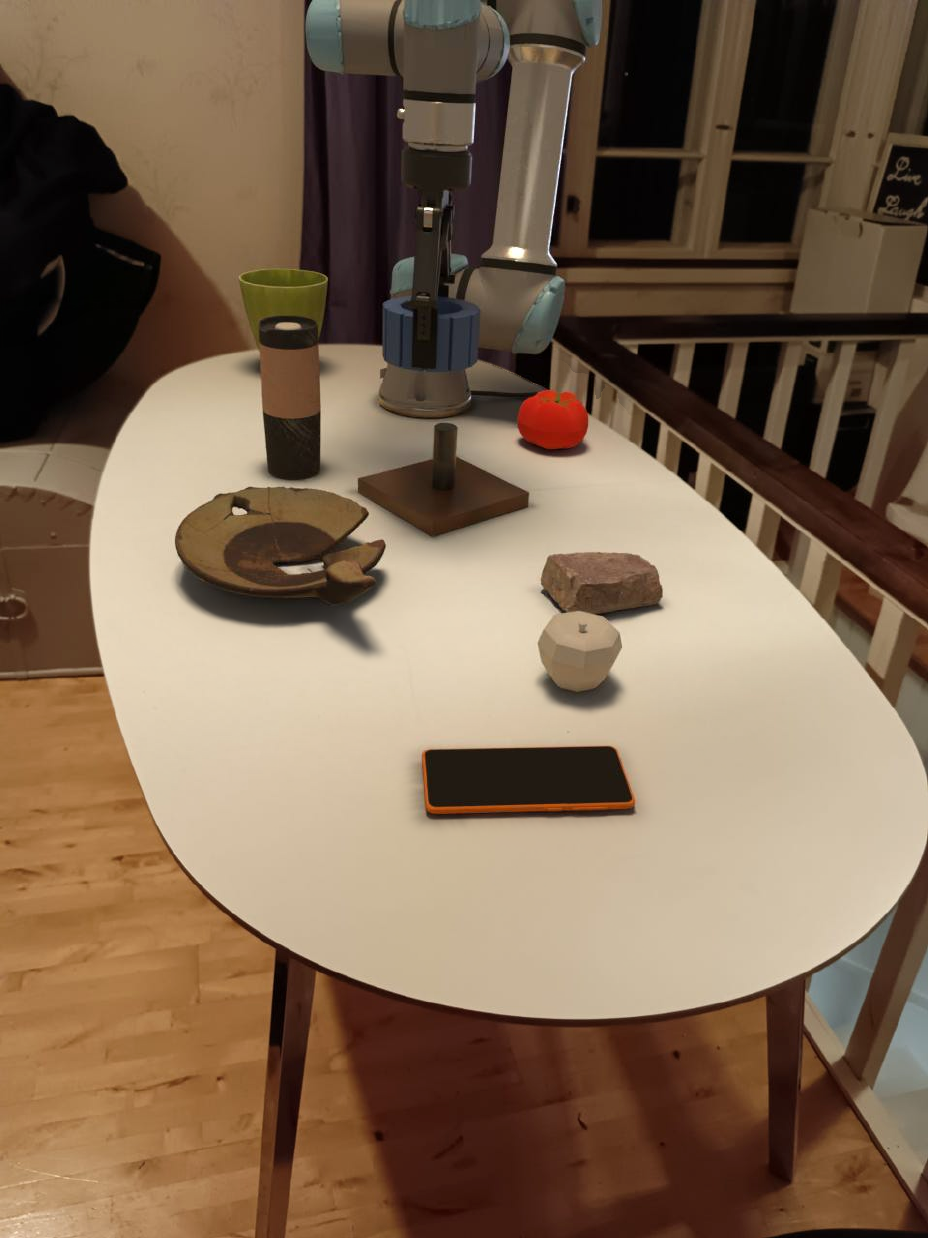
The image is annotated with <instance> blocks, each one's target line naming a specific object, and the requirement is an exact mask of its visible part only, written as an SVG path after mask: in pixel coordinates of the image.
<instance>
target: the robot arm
mask: <svg viewBox="0 0 928 1238" xmlns="http://www.w3.org/2000/svg"><path fill="white" fill-rule="evenodd" d="M602 22H603V0H311V2H310V4H309V6H308V9H307V12H306V17H305V38H306V40H305V41H306V49H307V52H308V54H309V58H310V60H311V61H312V63H313V64H314V66H315V67H316V68H318V69H319V70H321V71H324V72H332V73H333V72H334V73H339V74H340V75H345V74H353V75H356V74H357V75H370V76H371V75H372V76H388V77H389V76H390V77H398V78H403V85H402V87H403V91H402V98H403V101H402V105H403V107H404V108H398V109H397V112H396V116H397V118H398V119H400V120H404V121H403V123H402V140H403V141H404V142H405V143H407V145H408V146H404V147H403V149H402V150H401V175H400V176H401V177H400V179H401V183H402V184H403V185H404V186H405V187H408V188H411V189H420V190H421V191H422V194H421V195H422V196H421V202H419V203H418V205H416V206H415V211H414V220H415V233H414V255H413V256H411V257H407V258H403V259H401V260H399V261H398V262H396V264H395V265H394V266H393V269H392V274H391V287H390V290H389V294H390V299H392V298H393V299H395V298H397V297H405V296H412V297H411V299H410V300H407V301H406V307H407V308H413V329H412V367H417V368H430V369H436V359H437V333H438V308H436V307H437V306H438V302H437V297H438V296H441V297H448V298H456V299H458V300H464V301H467V302H470V303H473V304H475V305H477V306H478V307H479V309H480V310H481V311H480V327H479V343H478V349H487V350H495V351H502V352H508V353H512V354H514V355H515V354H528V355H538V354H541V353H543V352H544V351H545V350H546V349H547V348H548V347H549V345H550V343H551V341H552V339H553V337H554V334H555V332H556V329H557V327H558V324H559V321H560V316H561V313H562V309H563V306H564V305H563V304H564V300H565V290H566V282H565V279H564V278H562V277H560V276H559V275H558V276H557V268H558V264H557V262H556V260H555V259H554V258H553V256H552V255H551V254H550V244H551V237H552V230H553V229H552V228H553V222H554V216H555V215H554V214H555V209H556V208H555V207H556V200H557V193H558V185H559V177H560V171H561V169H560V168H561V161H562V155H563V154H562V153H563V147H564V146H563V145H564V139H565V131H566V125H567V124H566V123H567V117H568V109H569V101H570V94H571V87H572V78H573V74H574V73H575V71H577V70H578V69H579V68H580V67H581V66H583V64H585V61H586V54H587V48H590V49H592V48H593V47H596V46H597V45H598V44H599V42H600V38H601V32H602V24H603V23H602ZM507 60H508V62H509V63H510V65H511V67H512V71H511V80H510V81H511V82H510V86H509V87H510V89H509V97H508V106H507V113H506V114H507V116H506V123H505V131H504V132H505V133H504V140H503V141H504V143H503V149H502V150H503V151H502V158H501V167H500V177H499V186H498V194H497V203H496V212H495V220H494V228H493V238H492V239H493V240H492V245H491V247H490V248H488V249H487V250H486V251H485V252H484V253H482V254H481V256H480V265H479V268H476V267H469V261H468V258H467V257H466V255H463V254H458V253H452V238H453V237H452V236H453V223H454V219H455V205H453V204H452V203H453V202H454V196H453V193H452V192H457V191H464V190H467V189H469V188H470V186H471V184H472V170H473V169H472V167H473V154H472V153H471V150H468V149H469V148H468V147H470V146H472V145H473V144H474V139H475V137H474V136H475V124H476V123H475V121H476V88H477V87H476V86H477V84H480V83H482V82H483V81H487V80H489V79H491V78H493V77H494V76H495V75H497V74H498V73H499V72H500V71H501V69H503V67H504V66H505V63H506V62H507ZM450 191H451V192H450ZM379 379H382V382H381V383H380V385H379V389H378V403H379V405H380V406H381V407H382V408H383V409H386V410H387V411H389V412H392V413H395V414H398V415H401V416H408V417H414V418H430V419H432V418H433V419H434V418H446V417H452V416H457V415H460V414H462V413H465V412H466V411H468V410H469V409H470V408H471V405H472V396H476V397H494V398H495V397H496V398H511V399H521V398H522V399H524V398H529V397H534V396H535V395H536V394H538V393H539V392H538V391H527V392H507V391H506V392H505V391H495V390H494V391H492V390H473V389H471V388H470V385H469V382H468V381H469V380H468V376H467V372H466V369H464V370H458V371H453V372H450V371H448V372H426V371H425V370H424V371H422V372H421V371H414V370H408V369H403V368H402V367H400V368H399V367H396V366H394V365H391V364H389V363H387V365H386V367H384V368H380V369H379Z"/></svg>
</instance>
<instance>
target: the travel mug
mask: <svg viewBox="0 0 928 1238" xmlns="http://www.w3.org/2000/svg"><path fill="white" fill-rule="evenodd" d="M258 327H259V346H260V352H259V363H260V364H259V365H260V387H261V407H262V408H261V409H262V419H263V420H262V421H263V431H264V442H265V443H264V444H265V453H266V464H267V471H268V473H269V474H270V475H272V476H273V477H275V478H278V479H282V480H295V481H296V480H304V479H309V478H312V477H315V476H316V475H318V474H319V473H320V471H321V434H322V433H321V431H322V430H321V425H322V423H321V422H322V421H321V418H322V417H321V416H322V411H321V408H322V406H321V405H322V404H321V379H320V349H319V348H320V347H319V340H318V324H317V322H316V321H315V320H313V319H311V318H307V317H302V316H290V315H283V316H272V317H267V318H264V319H261V320H260V321H259V323H258Z"/></svg>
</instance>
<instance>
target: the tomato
mask: <svg viewBox="0 0 928 1238" xmlns="http://www.w3.org/2000/svg"><path fill="white" fill-rule="evenodd" d="M537 393H538V394H536V395H535V396H534V397H527V398H526V399H525V400H523V402H522V403H521V405H520V407H519V410H518V414H517V419H516V421H517V429H518V431H519V434H520V436H521V437H522V438H523V439H524V440H525V441H526V442H527V443H530V444H531V445H536V446H538V447H542V448H543V449H545V450H547V451H548V450H557V449H563V450H567V449H571V448H573V447H576V446H577V445H579V444H580V443H581V442H582V441H583V440H584V438H585V437H586V435H587V433H588V429H589V414H588V411H587V408H586V407H585V406H584V404H583V402H582V401H581V400H580V399H579V398H578V397H577V396H576V394H575V393H572V392H569V391H566V390H565V391H563V392H562V391H559V392H557V391H555V390H553V389H549V390H548V389H544V390H542V391H540V392H537Z"/></svg>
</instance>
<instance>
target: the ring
mask: <svg viewBox="0 0 928 1238" xmlns="http://www.w3.org/2000/svg"><path fill="white" fill-rule="evenodd" d="M411 297H412V296H405V297H397V298H395V299H393V298H392V299H391V298H390V299H389V300H388V299H387V300H386V301H383V303H382V336H381V337H382V338H381V339H382V344H381V345H382V347H381V349H382V351H381V353H382V354H381V355H382V358H383V361H384V362H386V363H387V364H388V363H389V364H391V365H394V366H396V367H399V368H400V367H402V368H403V369H408V370H414V371H421V372H422V371H424V370H425V371H426V372H448V371H450V372H453V371H458V370H464V369H465V370H468V369H470V368H472V367H473V366H474V365H476V364H477V363H478V359H479V357H478V356H479V347H478V343H479V327H480V311H481V310H480V309H479V307H478V306H477V305H475V304H473V303H470V302H467V301H464V300H458V299H456V298H448V297H441V296H438V297H437V302H438V306H437V307H436V308H438V333H437V359H436V369H430V368H417V367H412V329H413V308H407V307H406V301H407V300H410V299H411Z"/></svg>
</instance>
